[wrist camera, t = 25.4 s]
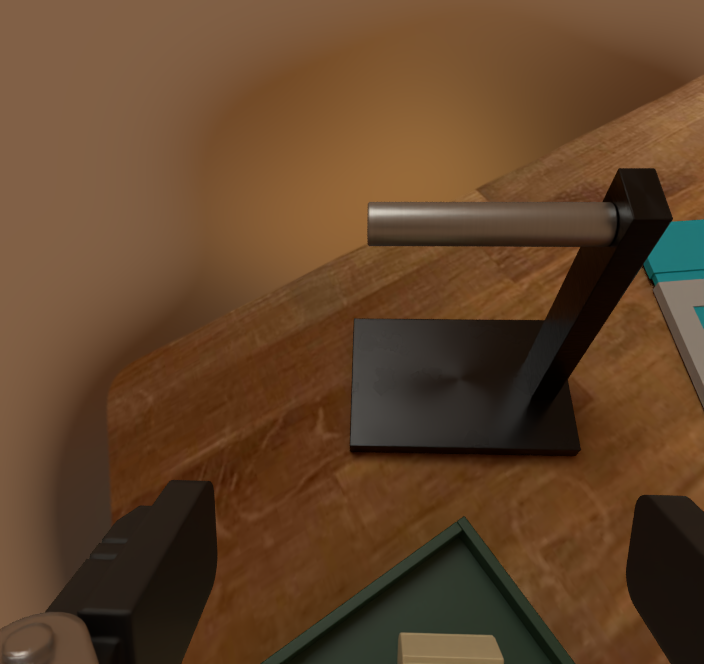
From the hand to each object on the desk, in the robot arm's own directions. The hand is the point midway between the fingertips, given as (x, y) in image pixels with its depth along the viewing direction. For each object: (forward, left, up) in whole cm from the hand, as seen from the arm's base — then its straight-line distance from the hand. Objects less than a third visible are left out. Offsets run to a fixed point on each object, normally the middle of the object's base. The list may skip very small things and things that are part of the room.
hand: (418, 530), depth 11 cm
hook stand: (+13, +10, -26) cm, 30 cm away
